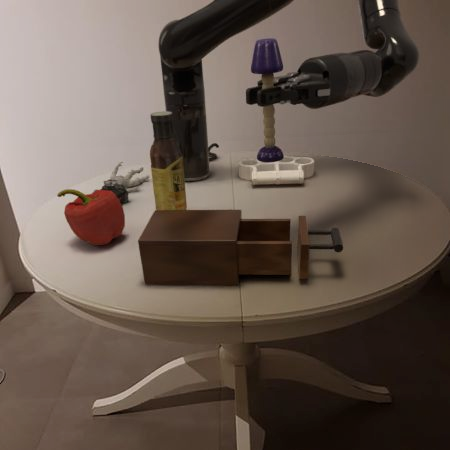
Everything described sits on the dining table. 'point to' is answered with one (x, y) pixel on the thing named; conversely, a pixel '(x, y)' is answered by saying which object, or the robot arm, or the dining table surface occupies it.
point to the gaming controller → (117, 191)
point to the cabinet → (191, 247)
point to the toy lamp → (266, 65)
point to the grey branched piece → (126, 178)
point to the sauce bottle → (166, 165)
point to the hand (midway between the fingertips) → (253, 97)
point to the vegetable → (95, 216)
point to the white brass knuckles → (277, 170)
